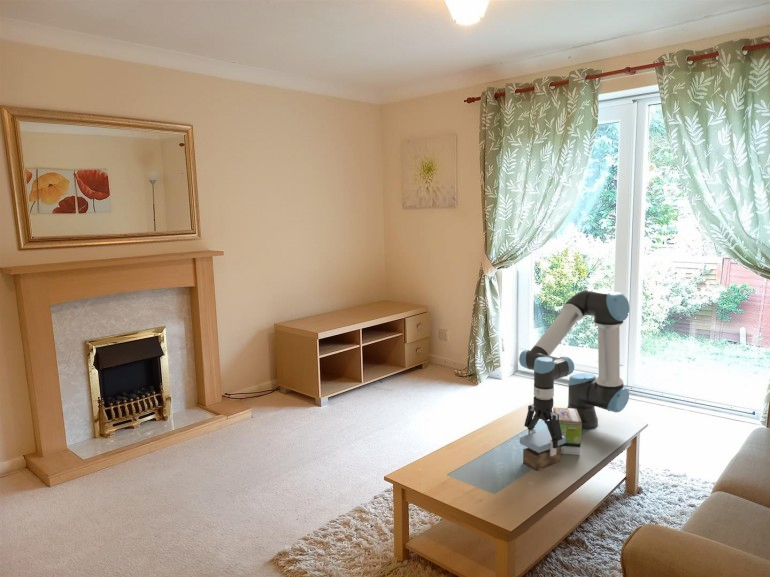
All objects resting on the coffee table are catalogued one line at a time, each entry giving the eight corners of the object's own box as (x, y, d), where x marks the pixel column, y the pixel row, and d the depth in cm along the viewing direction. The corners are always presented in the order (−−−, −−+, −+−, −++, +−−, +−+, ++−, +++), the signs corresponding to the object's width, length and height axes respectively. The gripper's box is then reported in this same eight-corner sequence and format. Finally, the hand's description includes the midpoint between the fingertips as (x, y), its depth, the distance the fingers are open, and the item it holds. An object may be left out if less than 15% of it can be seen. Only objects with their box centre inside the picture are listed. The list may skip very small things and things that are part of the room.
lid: (545, 436, 219) (546, 428, 218) (565, 444, 211) (565, 437, 210) (519, 445, 211) (519, 437, 211) (539, 454, 203) (539, 446, 202)
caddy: (547, 454, 218) (547, 440, 218) (560, 460, 213) (561, 446, 212) (523, 463, 211) (523, 449, 210) (536, 470, 205) (536, 456, 204)
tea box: (581, 455, 217) (582, 421, 215) (555, 453, 219) (556, 420, 217) (575, 439, 231) (576, 407, 229) (551, 438, 233) (552, 406, 231)
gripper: (515, 390, 215) (515, 442, 219) (560, 407, 196) (558, 463, 200) (528, 386, 219) (527, 437, 223) (573, 403, 200) (571, 458, 204)
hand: (542, 449), depth 211 cm, fingers closed on lid, 10 cm apart
